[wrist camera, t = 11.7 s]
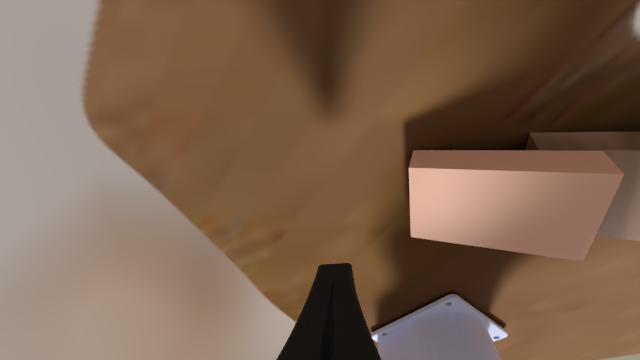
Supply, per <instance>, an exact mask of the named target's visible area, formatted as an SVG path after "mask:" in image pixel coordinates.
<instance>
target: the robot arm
mask: <svg viewBox="0 0 640 360" xmlns="http://www.w3.org/2000/svg"><path fill="white" fill-rule="evenodd" d="M507 336H508V334H507V332H506V330H505V329H503V328H502V327H501V326H499V325H498V324H497V323H495V322H494V321H492V320H491V319H490V318H488V317H487V316H486V315H484V314H483V313H481V312H480V311H479V310H477V309H476V308H475V307H473V306H472V305H470V304H469V303H468V302H466V301H465V300H463V299H462V298H461V297H459V296H458V295H456V294H449V295H447V296H445V297H443V298H441V299H439V300H437V301H435V302H433V303H431V304H429V305H427V306H425V307H423V308H421V309H419V310H417V311H415V312H413V313H411V314H409V315H407V316H404V317H402V318H400V319H398V320H396V321H394V322H392V323H390V324H388V325H386V326H384V327H382V328H380V329H378V330H376V331H374V332H372V333H371V334H370V332H369V329H368V327H367V324H366V321H365V319H364V316H363V313H362V310H361V307H360V304H359V301H358V298H357V294H356V290H355V284H354V278H353V272H352V265H351V264H349V263H342V264H324V265H320V266H319V267H318V270H317V274H316V277H315V280H314V283H313V285H312V288H311V291H310V293H309V296H308V298H307V300H306V303H305V305H304V307H303V310H302V312H301V314H300V316H299V318H298V320H297V322H296V324H295V327H294V329H293V330H292V333H291V335H290V337H289V338H288V340H287V342H286V344H285V346H284V348H283V349H282V351H281V353H280V355H279V356H278V358H277V360H501V358H500V355H499V353H498V351H497V349H496V347H495V345H494V342H495V341H497V340H500V339H503V338H505V337H507ZM373 340H375V341H377V342H378V351H377V349H376V346H375V344H374V342H373ZM378 352H379V353H378Z"/></svg>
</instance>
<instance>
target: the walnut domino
mask: <svg viewBox="0 0 640 360" xmlns="http://www.w3.org/2000/svg"><path fill="white" fill-rule="evenodd" d="M526 150H546V151H604V152H605V153H606V155H607V156H608V157H609V158H610V159H611V160H612V161H613V162H614V164H615V165H616V166H617V167H618V168H619V169H620V170H621V171H622V173H623V174H624V176H623V178H622V180H621V182H620V185H619V187H618V189H617V191H616V193H615V195H614V197H613V199H612V202H611V204H610V206H609V208H608V210H607V212H606V214H605V217H604V219H603V221H602V223H601V225H600V227H599V229H598V231H597V234H596V236H602V237H611V238H619V239H628V240H636V241H640V131H638V132H530V134H529V138H528V142H527V146H526Z"/></svg>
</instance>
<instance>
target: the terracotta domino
mask: <svg viewBox="0 0 640 360" xmlns="http://www.w3.org/2000/svg"><path fill="white" fill-rule="evenodd" d="M623 176H624V174H623V173H622V171H621V170H620V169H619V168H618V167H617V166H616V165H615V164H614V162H613V161H612V160H611V159H610V158H609V157H608V156H607V155H606V153H605V152H604V151H546V150H413V154H412V158H411V161H410V165H409V194H410V229H411V237H414V238H421V239H428V240H435V241H442V242H449V243H456V244H463V245H470V246H477V247H484V248H491V249H499V250H506V251H513V252H520V253H527V254H534V255H541V256H548V257H555V258H562V259H569V260H576V261H584V259H585V257H586V255H587V253H588V251H589V249H590V246H591V244H592V242H593V240H594V238H595V236H596V234H597V231H598V229H599V227H600V225H601V223H602V221H603V219H604V217H605V214H606V212H607V210H608V208H609V206H610V204H611V202H612V199H613V197H614V195H615V193H616V191H617V189H618V187H619V185H620V182H621V180H622V178H623Z"/></svg>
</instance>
